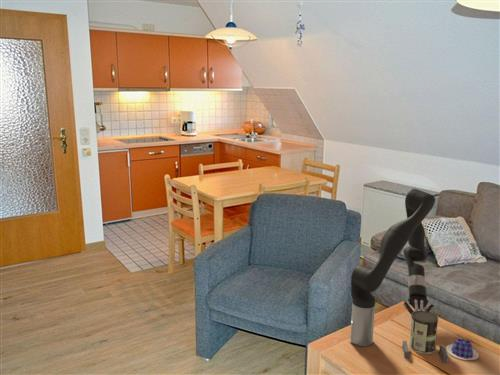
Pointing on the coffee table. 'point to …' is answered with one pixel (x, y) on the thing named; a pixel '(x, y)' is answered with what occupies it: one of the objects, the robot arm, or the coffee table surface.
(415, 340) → the coffee can
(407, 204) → the robot arm
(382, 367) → the coffee table surface
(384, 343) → the coffee table surface
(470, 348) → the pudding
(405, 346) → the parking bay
